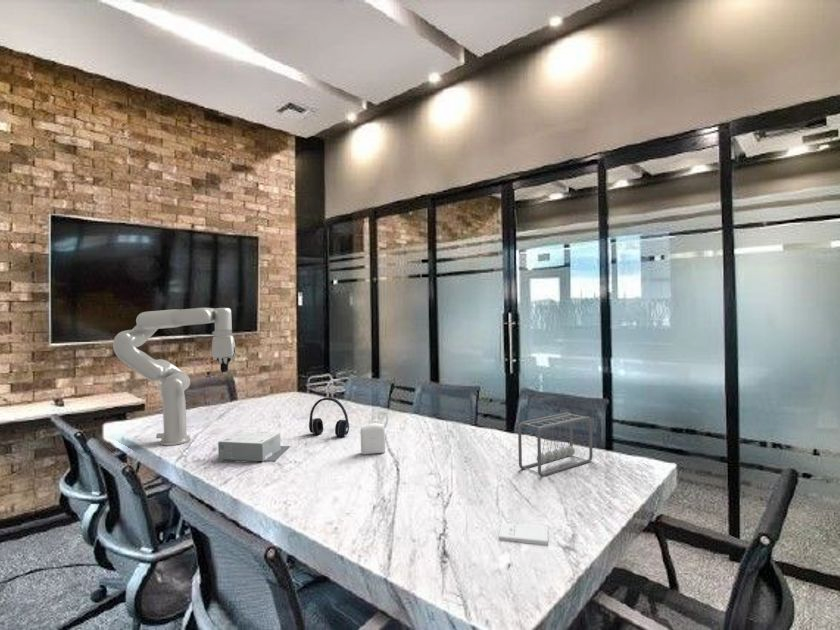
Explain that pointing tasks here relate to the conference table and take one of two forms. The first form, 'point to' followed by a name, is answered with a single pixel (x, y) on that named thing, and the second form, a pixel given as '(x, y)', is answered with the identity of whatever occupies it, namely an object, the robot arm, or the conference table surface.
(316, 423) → the headphones
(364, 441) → the photo printer
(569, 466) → the newton's cradle
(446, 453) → the conference table surface
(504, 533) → the external hard drive
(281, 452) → the rubber mat
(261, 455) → the hard drive box
